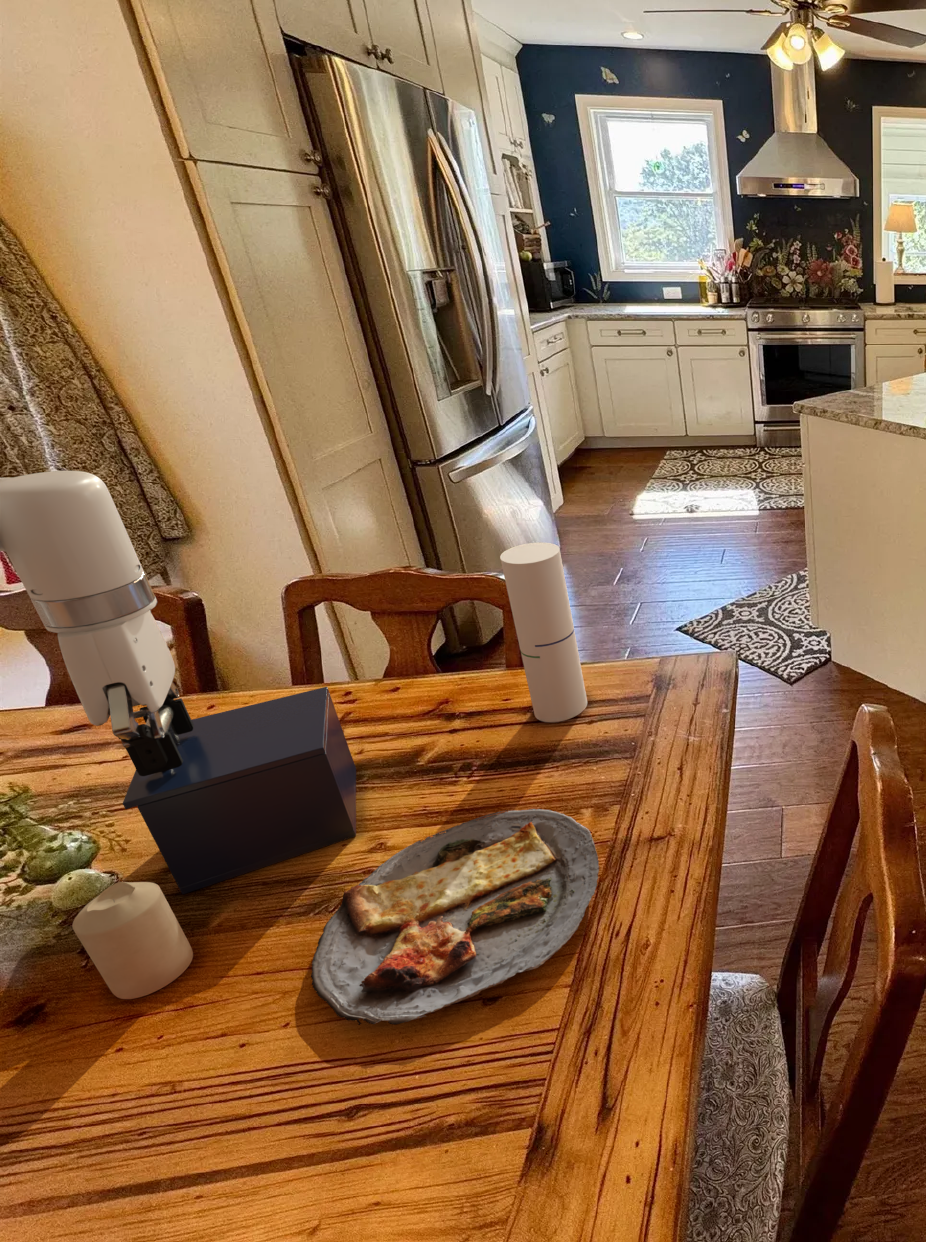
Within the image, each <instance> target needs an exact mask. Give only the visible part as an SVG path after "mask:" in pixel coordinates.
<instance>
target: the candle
mask: <svg viewBox="0 0 926 1242" xmlns="http://www.w3.org/2000/svg"><path fill="white" fill-rule="evenodd" d="M72 930H73V932H74V933H75V935H76V936H77V938H78V940H79V942H80V943H81V945H82V946H83V948H84V950H85V952H86V953H87V955H88V956H89V957H90V960H91V961H92V963H93V964H94V966H95V968H96V970H97V971H98V972H99V974H100V976H101V977H102V979H103V981H104V982H105V984H106V987H108V989H109V990H110V992H111V993H112V995H113V996H115V997H116V998H118V999H121V1000H132V999H138V998H142V997H145V996H148V995H151V994H153V993H155V992H157V991H159V990H161V989H162V988H165V987H166V986H168V985H169V984H171V983H173V982H174V981H175V980H176V979H177V978H179V977H180V976H182V974H183V973H184V972H185V971H186V970H187V969H188V967H189V966H190V965H191V963H192V961H193V958H194V951H193V948H192V946H191V944H190V942H189V940H188V938H187V936H186V935H185V933H184V930H183V928H182V927H181V924H180V923H179V921H178V918H177V917H176V915H175V913H174V912H173V910H172V908H171V906H170V904H169V902H168V901H167V899H166V896H165V894H164V893H163V890H162V889H161V887H160V885H158V884H157V883H155V882H150V881H133V882H132V881H131V882H130V881H129V882H128V881H118V882H115V883H114V884H112V885H110V886H108V887H107V888H105V889H104V890H103V891H102V892H101V893H100V894H98V895H97V896H96V897H95V898H93V899H92V900H90V901H89V902H88V903H86V905H85V906H84V907H82V909H81V910H80V911H79V912H78V914H77V915H76V916H75V918H74V919H73V921H72Z"/></svg>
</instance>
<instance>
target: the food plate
mask: <svg viewBox="0 0 926 1242" xmlns="http://www.w3.org/2000/svg"><path fill="white" fill-rule="evenodd" d="M599 863H600V860H599V855H598V852H597V848H596V845H595V842H594V838H593V836H592V833H591V831H590V829H589V828H588V827H586V825H585V826H584V825H582V823H580V822H577V821H576V819H574V818H573V817H572V816H568V815H566V814H564V813H562V812H559V811H556V810H554V811H553V810H551V809H542V808H537V809H536V808H530V809H522V810H502V811H496V812H493V813H488V814H485V815H483V816H480V817H476V818H474V819H473V818H472V819H471V820H468V821H464V822H462V823H460V824H457V825H454V826H452V827H449V828H447V829H445V830H442V831H439V832H436V833H434V834H432V835H430V836H427V837H425V838H423V839H420V840H417V841H415V842H414V843H412V844H410V845H408V846H406V847H405V848H403V849H402V850H399V851H398V852H396V853H395V854H393V855H392V856H391V857H390V858H388V859H387V860H385V861H384V863H383V862H382V863H381V864H380V865H379V866H377V868H376V869H375V870H374V871H372V872H371V873H370V875H368V876H367V877H365V878H364V879H363V880H362V881H361V882H359V884H356V885H353V886H351V887H350V889H348V890H344V891H343V894H342V901H341V904H340V906H339V907H338V909H337V910H336V911H335V913H334V914H333V915H332V916H330V918H329V920H328V921H327V922H326V924H325V925H324V927H323V929H322V934H321V935H320V937H319V938H318V941H317V946H316V950H315V952H314V955H313V958H312V961H311V967H310V968H311V974H310V978H311V986H312V989H313V990H314V991H315V994H317V996H318V997H319V998H320V999H322V1000H323V1001H324V1002H325V1003H326V1004H327V1005H328V1006H329V1007H330V1008H331V1009H332V1010H333V1011H334V1013H335V1015H336V1017H339V1018H341V1019H343V1018H344V1019H345V1020H347V1021H351V1022H355V1021H356V1022H357V1023H358V1024H357V1025H358V1026H361V1024H363V1023H362V1022H360V1019H362V1020H363V1021H364V1022H367V1023H368V1024H369V1025H376V1024H377V1023H380V1022H382V1021H385V1022H388V1023H387V1024H389V1025H394V1026H395V1025H399V1024H403V1023H409V1022H411V1021H413V1020H417V1019H421V1018H426V1017H427V1015H426V1014H431V1013H435V1012H437V1011H438V1010H442V1009H443V1008H445V1007H449V1006H452V1005H454V1004H456V1003H460V1002H461V1001H464V1000H467V999H469V998H473V997H474V996H477V995H479V994H480V993H481V992H482V991H484V990H486V989H490V988H492V987H495V986H497V985H501V984H503V983H504V982H506V981H507V980H508V979H510V978H512V977H514V976H515V975H517V974H518V973H523V972H526V971H532V970H535V969H538V968H539V967H540V966H542V965H543V964H545V962H546V961H548V960H549V959H551V958H552V957H553V955H555V953H558V951H559V950H560V949H561V948H562V947H563V946H564V945H565V944H566V943H567V942H568V941H569V940H570V939H571V938H572V937H573V935H574V934H575V932H576V931H577V930H578V929H579V927H580V923H581V922H583V921H582V920H583V919H584V917H585V912H586V909H587V907H588V906H589V904H590V902H591V900H592V898H593V896H594V894H595V891H596V888H597V886H598V879H599V872H600V868H601V867H600V865H599Z"/></svg>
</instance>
